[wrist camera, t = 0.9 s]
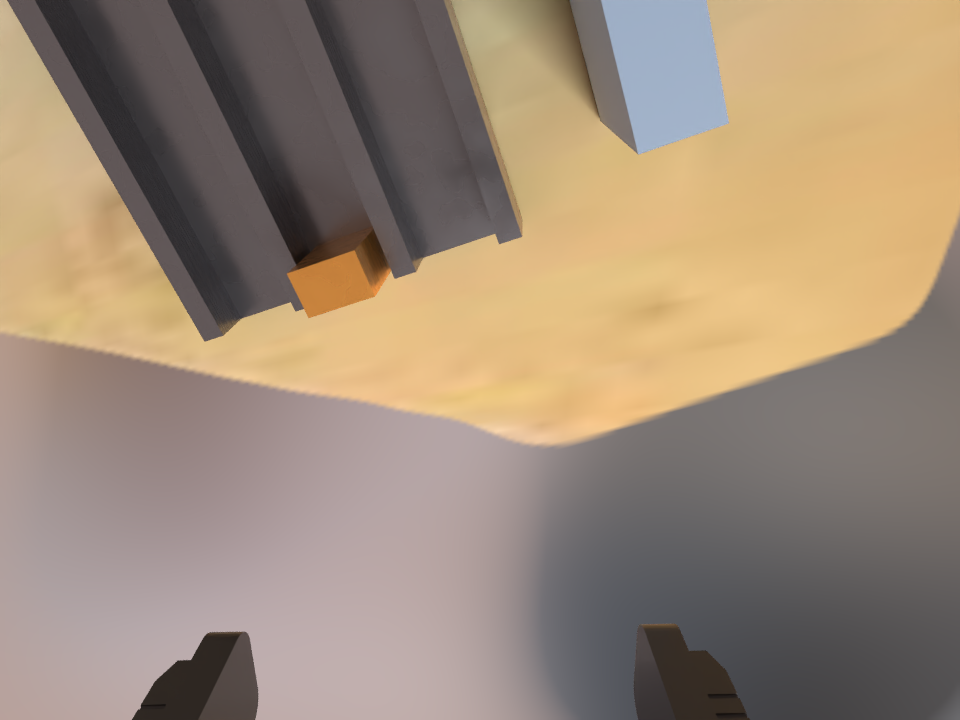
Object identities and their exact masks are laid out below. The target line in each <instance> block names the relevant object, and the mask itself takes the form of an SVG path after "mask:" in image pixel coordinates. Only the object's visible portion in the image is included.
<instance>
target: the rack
mask: <svg viewBox="0 0 960 720" xmlns="http://www.w3.org/2000/svg"><path fill="white" fill-rule="evenodd" d="M7 1H8V2H9V4H10V6H11V8H12V9H13V11H14V13H15V14H16V16H17V18H18V20H19V21H20V23H21V25H22V27H23V28H24V30H25V32H26V33H27V35H28V37H29V39H30V40H31V42H32V44H33V46H34V47H35V49H36V51H37V52H38V54H39V56H40V58H41V59H42V61H43V63H44V65H45V66H46V68H47V70H48V72H49V73H50V75H51V77H52V78H53V80H54V82H55V84H56V85H57V87H58V89H59V91H60V92H61V94H62V96H63V97H64V99H65V101H66V103H67V104H68V106H69V108H70V110H71V111H72V113H73V115H74V117H75V118H76V120H77V122H78V123H79V125H80V127H81V129H82V130H83V132H84V134H85V136H86V137H87V139H88V141H89V142H90V144H91V146H92V148H93V149H94V151H95V153H96V155H97V156H98V158H99V160H100V161H101V163H102V165H103V167H104V168H105V170H106V172H107V174H108V175H109V177H110V179H111V181H112V182H113V184H114V186H115V187H116V189H117V191H118V193H119V194H120V196H121V198H122V200H123V201H124V203H125V205H126V206H127V208H128V210H129V212H130V213H131V215H132V217H133V219H134V220H135V222H136V224H137V226H138V227H139V229H140V231H141V232H142V234H143V236H144V238H145V239H146V241H147V243H148V245H149V246H150V248H151V250H152V251H153V253H154V255H155V257H156V258H157V260H158V262H159V264H160V265H161V267H162V269H163V270H164V272H165V274H166V276H167V277H168V279H169V281H170V283H171V284H172V286H173V288H174V290H175V291H176V293H177V295H178V296H179V298H180V300H181V302H182V303H183V305H184V307H185V309H186V310H187V312H188V314H189V315H190V317H191V319H192V321H193V322H194V324H195V326H196V328H197V329H198V331H199V333H200V335H201V336H202V338H203V340H204V341H208V340H211V339H214V338H217V337H220V336H223V335H224V334H225V333H226V332H228V331H229V330H230V329H231V328H232V327H233V326H234V325H235V324H236V323H237V322H238V321H239V320H240V319H241V318H244V317H247V316H250V315H253V314H256V313H259V312H262V311H265V310H268V309H271V308H274V307H277V306H280V305H283V304H286V303H289V302H291V303H292V305H293V307H294V309H295V311H299V310H302V309H304V310H305V312H306V314H307V316H308V318H310V317H313V316H316V315H320V314H323V313H326V312H329V311H332V310H335V309H338V308H341V307H344V306H347V305H350V304H353V303H356V302H359V301H362V300H365V299H369V298H372V297H375V295H376V294H377V292H378V291H379V289H380V287H381V286H382V284H383V283H384V281H385V279H386V278H387V276H388V275H389V273H390V271H392V273H393V276H394V278H398V277H402V276H405V275H408V274H411V273H414V272H416V271H417V269H418V267H419V265H420V263H421V261H422V259H423V258H424V257H427V256H430V255H433V254H436V253H439V252H442V251H445V250H448V249H451V248H454V247H457V246H460V245H463V244H466V243H469V242H472V241H474V240H477V239H480V238H483V237H486V236H489V235H492V234H496V236H497V239H498V242H499V244H501V243H504V242H507V241H510V240H513V239H516V238H519V237H522V217H521V214H520V211H519V208H518V205H517V202H516V199H515V196H514V193H513V190H512V187H511V184H510V181H509V178H508V175H507V171H506V168H505V165H504V162H503V159H502V156H501V153H500V150H499V147H498V144H497V141H496V138H495V135H494V132H493V129H492V126H491V123H490V120H489V117H488V113H487V110H486V107H485V104H484V101H483V98H482V95H481V92H480V89H479V86H478V83H477V80H476V77H475V74H474V71H473V68H472V65H471V62H470V58H469V55H468V52H467V49H466V46H465V43H464V40H463V37H462V34H461V31H460V28H459V25H458V22H457V19H456V16H455V13H454V10H453V7H452V3H451V0H7Z"/></svg>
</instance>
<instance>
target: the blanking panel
mask: <svg viewBox="0 0 960 720" xmlns="http://www.w3.org/2000/svg"><path fill="white" fill-rule="evenodd" d="M569 1H570V5H571V9H572V13H573V17H574V21H575V24H576V28H577V32H578V36H579V40H580V44H581V47H582V51H583V55H584V59H585V63H586V67H587V70H588V74H589V78H590V82H591V86H592V90H593V94H594V97H595V101H596V105H597V109H598V113H599V117H600V120H601V122H602V123H603V124H604V125H606V126H607V127H608V128H609V129H610V130H611V131H612V132H614V133H615V134H616V135H617V136H618V137H619V138H620V139H621V140H623V141H624V142H625V143H626V144H627V145H628V146H629V147H631V148H632V149H633V150H634V151H635V152H636V153H637V154H641V153H644V152H647V151H650V150H653V149H656V148H659V147H661V146H664V145H667V144H670V143H673V142H676V141H679V140H682V139H685V138H688V137H690V136H693V135H696V134H699V133H702V132H705V131H708V130H711V129H714V128H717V127H720V126H722V125H725V124H728V123H729V121H728V116H727V110H726V105H725V99H724V94H723V89H722V83H721V78H720V72H719V67H718V61H717V56H716V50H715V45H714V39H713V34H712V28H711V23H710V17H709V12H708V6H707V1H706V0H569Z"/></svg>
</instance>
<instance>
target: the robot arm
mask: <svg viewBox="0 0 960 720" xmlns="http://www.w3.org/2000/svg"><path fill="white" fill-rule="evenodd" d="M634 699H635V707H636V712H637V716H638V720H750V719H749V718H747V714H746V711H745V709H744V707H743V705H742V702H741V700H740V699H739V698H738V697H737V692H736V690H735V688H734V686H733V684H732V682H731V680H730V678H729V676H728V674H727V672H726V670H725V669H724V668H723V667H722V666H721V665H720V664H719V663H718V662H717V661H716V660H715V659H714V658H713V657H712V656H711V655H710V654H709V653H708V652H707V651H689V650H688V648H687V646H686V643H685V641H684V639H683V636H682V634H681V631H680V629H679V627H678V626H677V625H676V624H643V625H642V624H640V625H639V626H638V630H637V643H636V656H635V671H634ZM257 707H258V687H257V681H256V675H255V668H254V662H253V657H252V650H251V644H250V638H249V636H248V634H247V633H246V632H212V633H211V632H210V633H208V634H206V636H205V637H204V638H203V640H202V642H201V643H200V645H199V647H198V649H197V650H196V652H195V654H194V656H193V658H192V659H191V660H183V661H177V662H176V663H175V664H174V665H173V666H172V667H170V668H169V669H168V670H167V671H166V672H165V673H164V674H163V675H162V676H160V677H159V678H158V679H157V680H156V681H155V682H154V684H153V686H152V687H151V689H150V691H149V693H148V694H147V696H146V697H145V699H144V701H143V703H142V704H141V709H140V710H138V711H137V712H136V714H135V716H134V717H133V719H132V720H255V718H256V713H257Z"/></svg>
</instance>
